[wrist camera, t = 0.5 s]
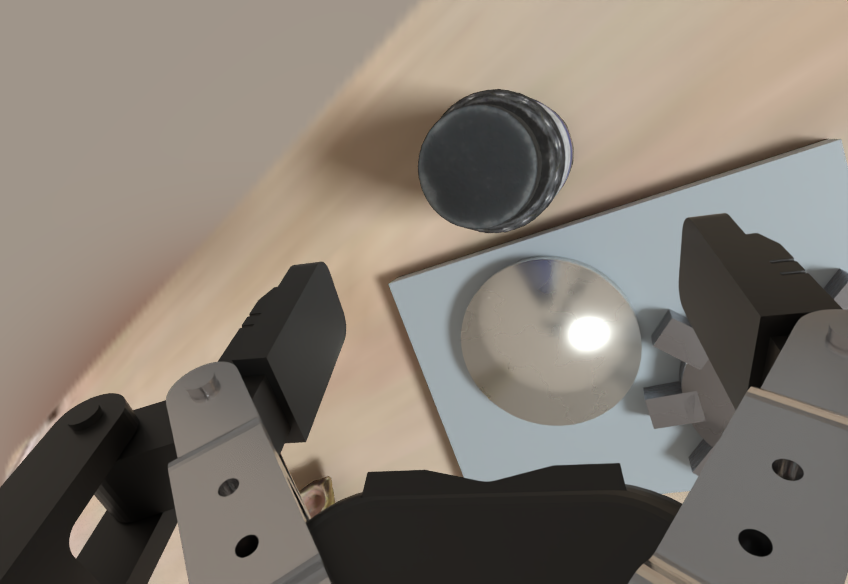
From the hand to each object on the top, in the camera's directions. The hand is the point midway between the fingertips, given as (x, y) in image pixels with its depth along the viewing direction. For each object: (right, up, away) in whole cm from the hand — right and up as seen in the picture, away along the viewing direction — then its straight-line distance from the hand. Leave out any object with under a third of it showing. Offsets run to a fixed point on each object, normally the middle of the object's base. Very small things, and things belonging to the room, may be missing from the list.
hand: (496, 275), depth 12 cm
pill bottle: (+4, +7, +18) cm, 20 cm away
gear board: (+10, -4, +19) cm, 22 cm away
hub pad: (+6, -3, +19) cm, 20 cm away
